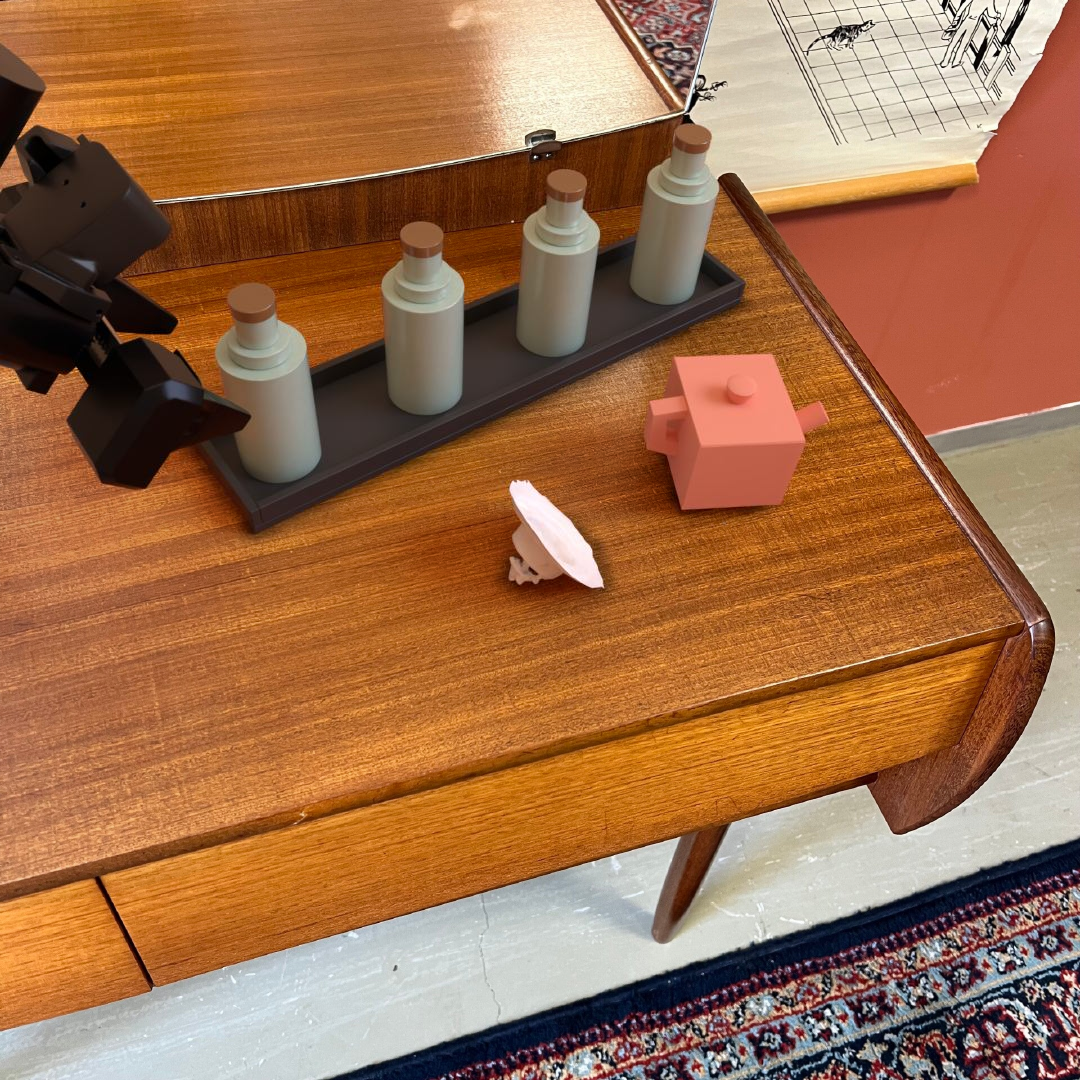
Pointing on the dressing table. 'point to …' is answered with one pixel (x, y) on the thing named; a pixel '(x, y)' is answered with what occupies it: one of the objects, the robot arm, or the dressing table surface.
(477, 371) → the tray
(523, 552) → the pale pink ornate lid
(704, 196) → the bottle far
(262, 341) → the bottle
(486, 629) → the dressing table surface
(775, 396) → the pink cube teapot
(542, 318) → the bottle middle
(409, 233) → the bottle near
